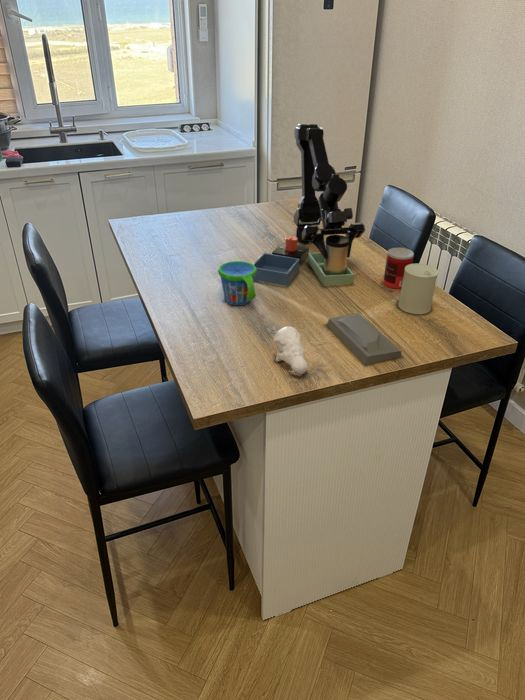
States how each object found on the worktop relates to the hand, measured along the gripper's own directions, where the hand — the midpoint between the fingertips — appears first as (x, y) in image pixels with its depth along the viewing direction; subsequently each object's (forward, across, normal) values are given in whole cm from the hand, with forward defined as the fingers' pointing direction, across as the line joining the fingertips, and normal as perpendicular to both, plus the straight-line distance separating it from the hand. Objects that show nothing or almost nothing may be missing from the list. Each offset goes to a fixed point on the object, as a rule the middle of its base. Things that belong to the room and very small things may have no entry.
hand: (337, 258), depth 167 cm
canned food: (+10, +18, +2) cm, 20 cm away
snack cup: (+11, -32, 0) cm, 34 cm away
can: (+20, +18, -8) cm, 28 cm away
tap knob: (-11, -9, +18) cm, 23 cm away
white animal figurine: (+36, -24, -25) cm, 50 cm away
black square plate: (-8, -9, +20) cm, 23 cm away
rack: (+2, 0, +10) cm, 10 cm away
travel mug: (+3, 0, +5) cm, 6 cm away
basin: (+1, -18, +10) cm, 20 cm away
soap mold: (+30, -4, -19) cm, 36 cm away
